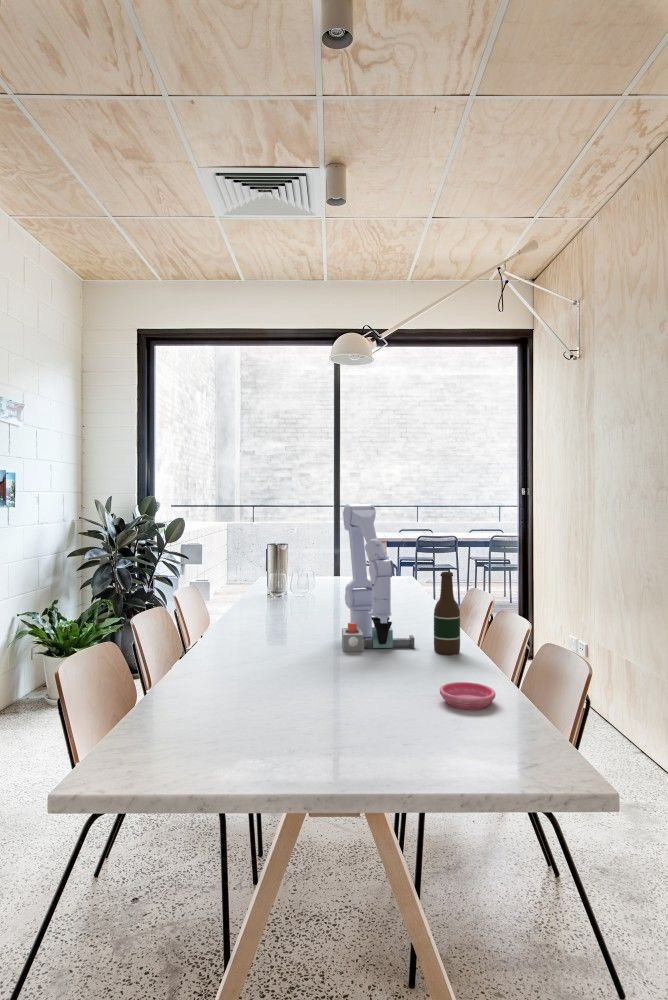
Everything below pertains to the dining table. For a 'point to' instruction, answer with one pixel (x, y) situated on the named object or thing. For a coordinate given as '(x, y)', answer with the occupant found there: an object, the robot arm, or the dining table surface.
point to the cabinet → (352, 640)
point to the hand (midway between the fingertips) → (381, 642)
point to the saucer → (467, 695)
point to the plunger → (352, 627)
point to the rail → (395, 642)
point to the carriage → (389, 639)
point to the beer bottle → (447, 619)
